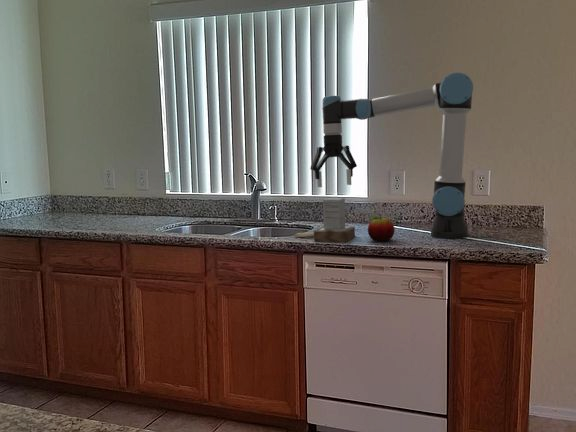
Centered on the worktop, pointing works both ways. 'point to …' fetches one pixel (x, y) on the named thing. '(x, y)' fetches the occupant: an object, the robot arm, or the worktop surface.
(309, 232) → the cork coaster
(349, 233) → the stand
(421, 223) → the worktop surface
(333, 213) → the supplement box
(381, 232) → the fruit
